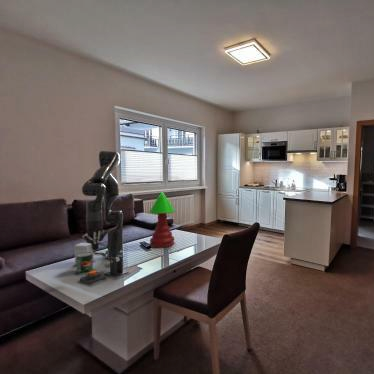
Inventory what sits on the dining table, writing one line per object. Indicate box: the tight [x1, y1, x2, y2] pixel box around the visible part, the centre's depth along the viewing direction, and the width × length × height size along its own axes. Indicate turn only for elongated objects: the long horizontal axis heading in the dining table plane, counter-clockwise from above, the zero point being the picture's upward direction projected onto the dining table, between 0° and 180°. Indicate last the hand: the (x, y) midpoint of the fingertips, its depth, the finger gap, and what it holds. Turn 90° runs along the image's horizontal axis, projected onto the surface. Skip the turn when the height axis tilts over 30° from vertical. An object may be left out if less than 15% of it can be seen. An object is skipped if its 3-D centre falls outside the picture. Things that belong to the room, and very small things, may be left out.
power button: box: [88, 269, 97, 276], centre depth 128 cm, size 4×4×2 cm
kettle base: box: [104, 255, 129, 279], centre depth 136 cm, size 10×8×11 cm
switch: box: [104, 257, 120, 269], centre depth 138 cm, size 12×3×3 cm
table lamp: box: [149, 191, 176, 249], centre depth 195 cm, size 20×20×45 cm
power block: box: [79, 270, 107, 285], centre depth 128 cm, size 10×8×4 cm
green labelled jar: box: [74, 242, 95, 266], centre depth 152 cm, size 8×6×13 cm
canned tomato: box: [76, 252, 94, 275], centre depth 139 cm, size 8×8×11 cm
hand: (95, 249), depth 129 cm, fingers closed
